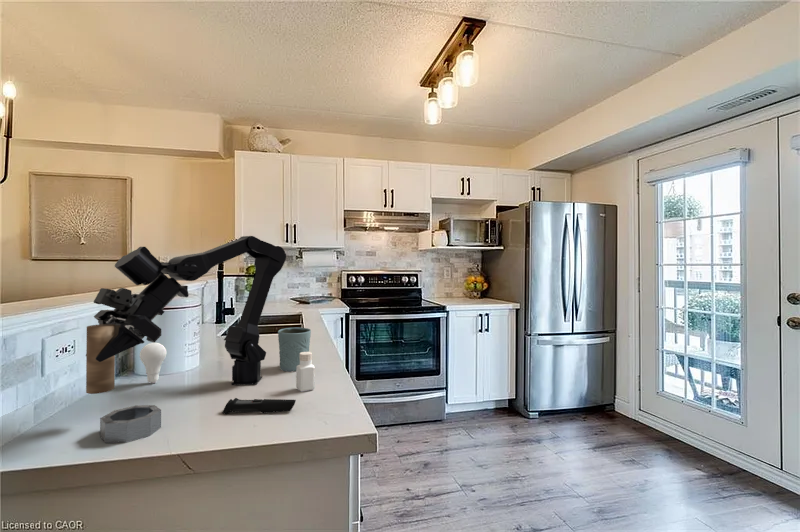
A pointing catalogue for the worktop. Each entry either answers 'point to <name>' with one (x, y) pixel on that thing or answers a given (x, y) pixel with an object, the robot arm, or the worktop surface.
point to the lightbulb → (153, 360)
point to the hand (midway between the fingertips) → (92, 358)
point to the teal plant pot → (292, 346)
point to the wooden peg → (98, 373)
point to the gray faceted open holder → (130, 423)
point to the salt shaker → (305, 373)
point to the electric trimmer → (258, 405)
